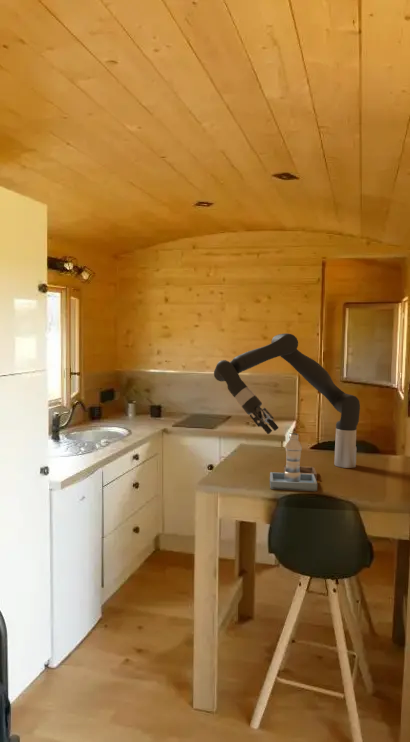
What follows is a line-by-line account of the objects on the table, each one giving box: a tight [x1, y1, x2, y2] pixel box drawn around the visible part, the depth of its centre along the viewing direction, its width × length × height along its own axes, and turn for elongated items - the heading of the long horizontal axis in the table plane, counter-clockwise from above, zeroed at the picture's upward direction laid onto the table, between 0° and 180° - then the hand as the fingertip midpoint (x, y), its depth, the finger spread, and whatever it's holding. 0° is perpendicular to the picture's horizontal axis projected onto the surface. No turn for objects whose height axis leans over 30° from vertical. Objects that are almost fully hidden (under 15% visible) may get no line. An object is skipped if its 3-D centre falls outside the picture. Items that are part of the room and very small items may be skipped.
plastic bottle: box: [284, 432, 303, 482], centre depth 226 cm, size 6×7×20 cm
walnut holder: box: [283, 465, 318, 481], centre depth 241 cm, size 13×12×2 cm
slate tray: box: [269, 471, 318, 492], centre depth 227 cm, size 18×14×3 cm
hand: (273, 431), depth 228 cm, fingers open, 8 cm apart
